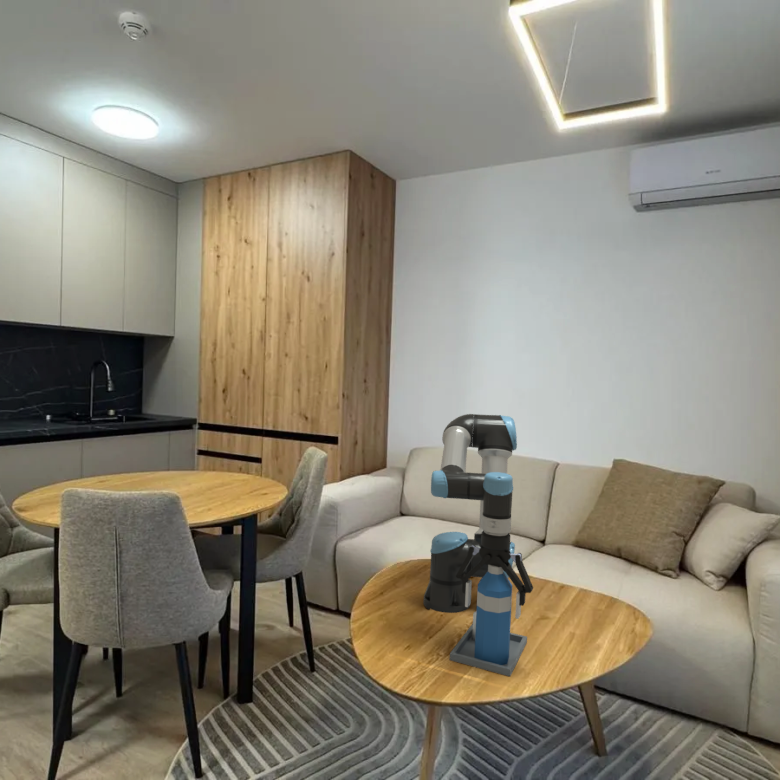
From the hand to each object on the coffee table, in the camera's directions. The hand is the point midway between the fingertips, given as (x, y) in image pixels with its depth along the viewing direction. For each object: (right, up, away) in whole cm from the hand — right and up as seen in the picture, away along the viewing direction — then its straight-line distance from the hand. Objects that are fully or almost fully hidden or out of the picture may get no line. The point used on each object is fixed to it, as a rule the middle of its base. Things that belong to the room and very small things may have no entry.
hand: (492, 611), depth 148 cm
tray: (0, -13, +4) cm, 14 cm away
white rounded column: (-1, -12, +10) cm, 16 cm away
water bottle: (0, -13, 0) cm, 13 cm away
